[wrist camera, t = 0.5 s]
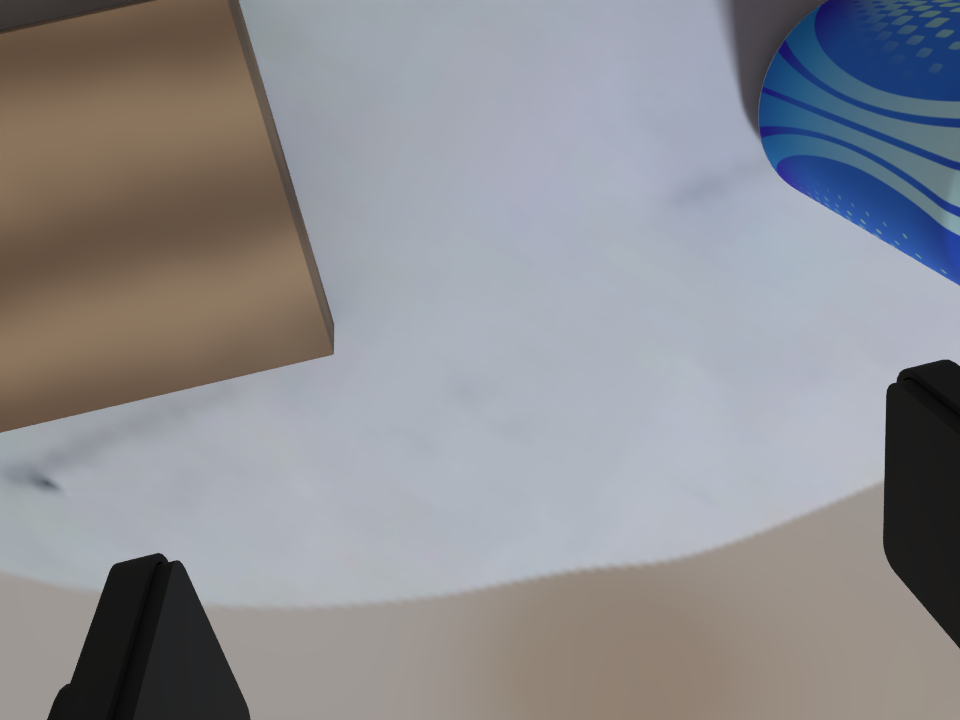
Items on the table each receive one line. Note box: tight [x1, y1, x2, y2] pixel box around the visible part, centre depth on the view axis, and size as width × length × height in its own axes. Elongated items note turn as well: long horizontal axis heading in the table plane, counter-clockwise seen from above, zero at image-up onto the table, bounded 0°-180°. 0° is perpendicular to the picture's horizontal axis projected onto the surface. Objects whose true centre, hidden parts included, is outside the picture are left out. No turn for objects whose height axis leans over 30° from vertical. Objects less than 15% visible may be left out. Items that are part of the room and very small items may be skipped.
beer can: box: [758, 0, 960, 285], centre depth 30 cm, size 8×8×16 cm
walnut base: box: [0, 0, 334, 433], centre depth 34 cm, size 14×14×3 cm
